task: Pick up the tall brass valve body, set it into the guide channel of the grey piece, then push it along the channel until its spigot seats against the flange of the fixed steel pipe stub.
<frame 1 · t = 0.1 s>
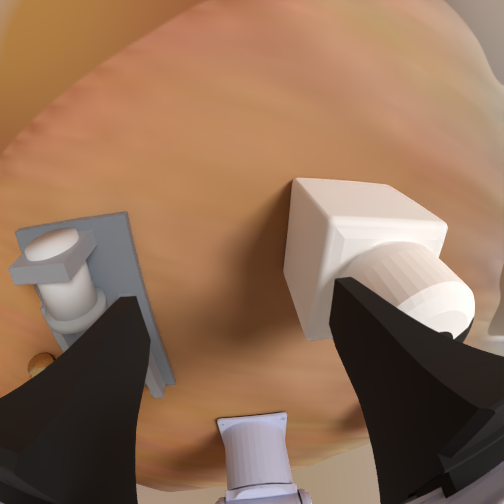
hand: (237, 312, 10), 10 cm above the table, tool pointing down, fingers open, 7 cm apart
grey piece: (98, 315, 22), on the table
medicine bottle: (335, 227, 20), on the table, touching gripper
valve: (60, 372, 25), on the table
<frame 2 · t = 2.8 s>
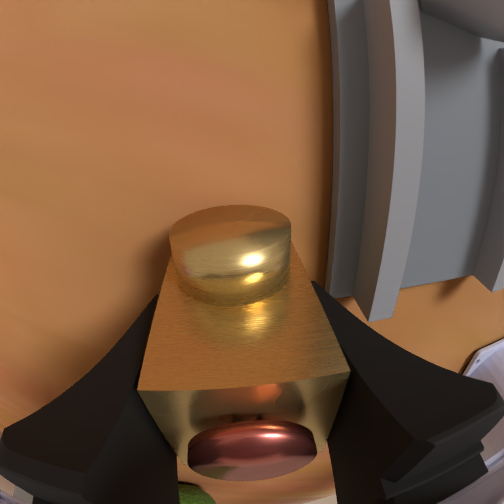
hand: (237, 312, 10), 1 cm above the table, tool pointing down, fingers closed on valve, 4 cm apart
avocado: (182, 482, 22), on the table
grey piece: (448, 83, 8), on the table
valve: (235, 288, 11), on the table, touching gripper
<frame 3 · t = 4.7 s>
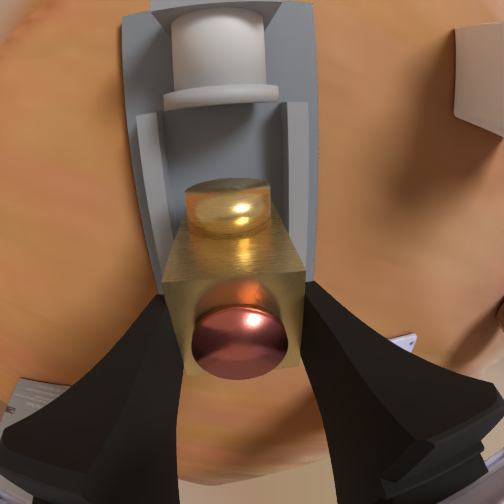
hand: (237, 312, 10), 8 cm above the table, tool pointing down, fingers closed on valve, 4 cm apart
skincare box: (56, 397, 25), on the table
grey piece: (224, 150, 15), on the table
medicine bottle: (482, 84, 14), on the table
valve: (232, 246, 14), point 3 cm above the table, touching gripper
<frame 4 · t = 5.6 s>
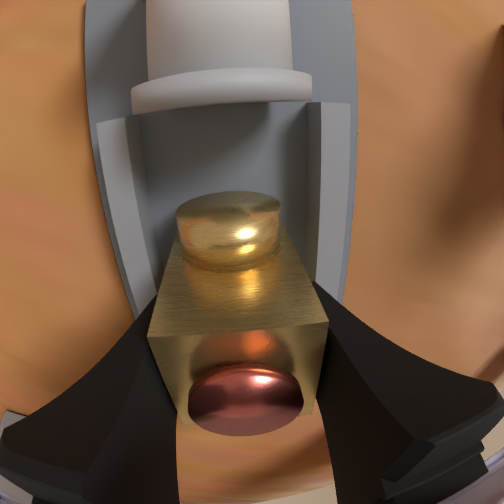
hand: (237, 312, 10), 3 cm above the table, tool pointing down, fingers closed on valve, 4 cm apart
skincare box: (45, 431, 21), on the table
grey piece: (226, 168, 11), on the table
valve: (233, 268, 12), point 1 cm above the table, touching gripper, grey piece
when the fingers open (3 cm above the table, at t = 6.0 s): valve stays where it is, resting on grey piece.
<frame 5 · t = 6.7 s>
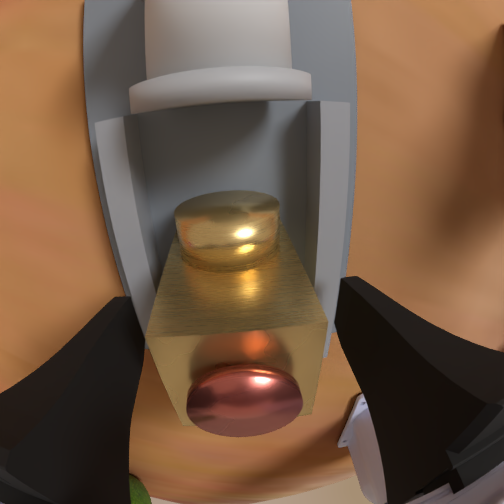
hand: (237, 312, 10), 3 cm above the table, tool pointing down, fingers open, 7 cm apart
avocado: (122, 471, 25), on the table
grey piece: (225, 168, 11), on the table
valve: (232, 267, 12), point 1 cm above the table, touching grey piece
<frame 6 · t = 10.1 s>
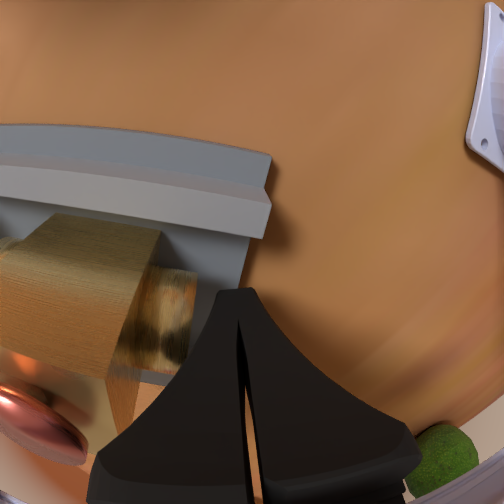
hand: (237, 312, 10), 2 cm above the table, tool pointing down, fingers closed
avocado: (424, 430, 23), on the table
grey piece: (35, 247, 10), on the table
valve: (104, 271, 10), point 1 cm above the table, touching gripper
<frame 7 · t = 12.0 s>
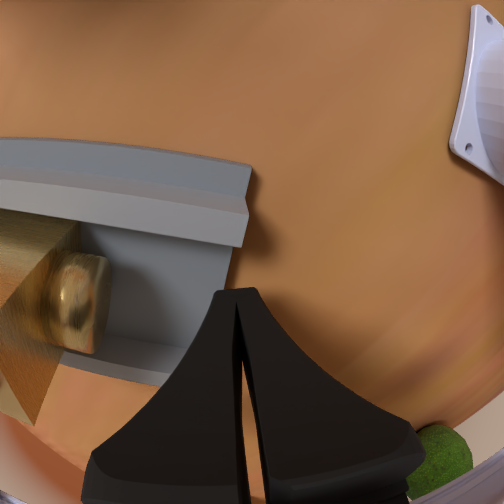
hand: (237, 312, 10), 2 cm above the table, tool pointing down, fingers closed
avocado: (418, 430, 23), on the table
grey piece: (32, 254, 10), on the table
valve: (41, 258, 10), point 1 cm above the table, touching grey piece
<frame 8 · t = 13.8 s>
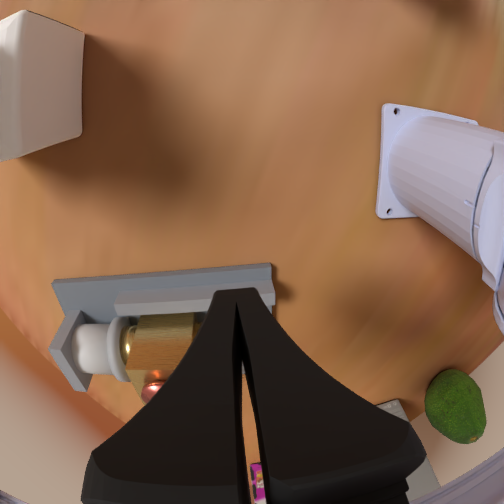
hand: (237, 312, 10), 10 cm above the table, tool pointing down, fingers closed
avocado: (437, 376, 32), on the table
skincare box: (371, 416, 34), on the table
grey piece: (164, 325, 22), on the table
candy bar box: (285, 461, 39), on the table
medicine bottle: (41, 92, 13), on the table
valve: (173, 327, 22), point 1 cm above the table, touching grey piece
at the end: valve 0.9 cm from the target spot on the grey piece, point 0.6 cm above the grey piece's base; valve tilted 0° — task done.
